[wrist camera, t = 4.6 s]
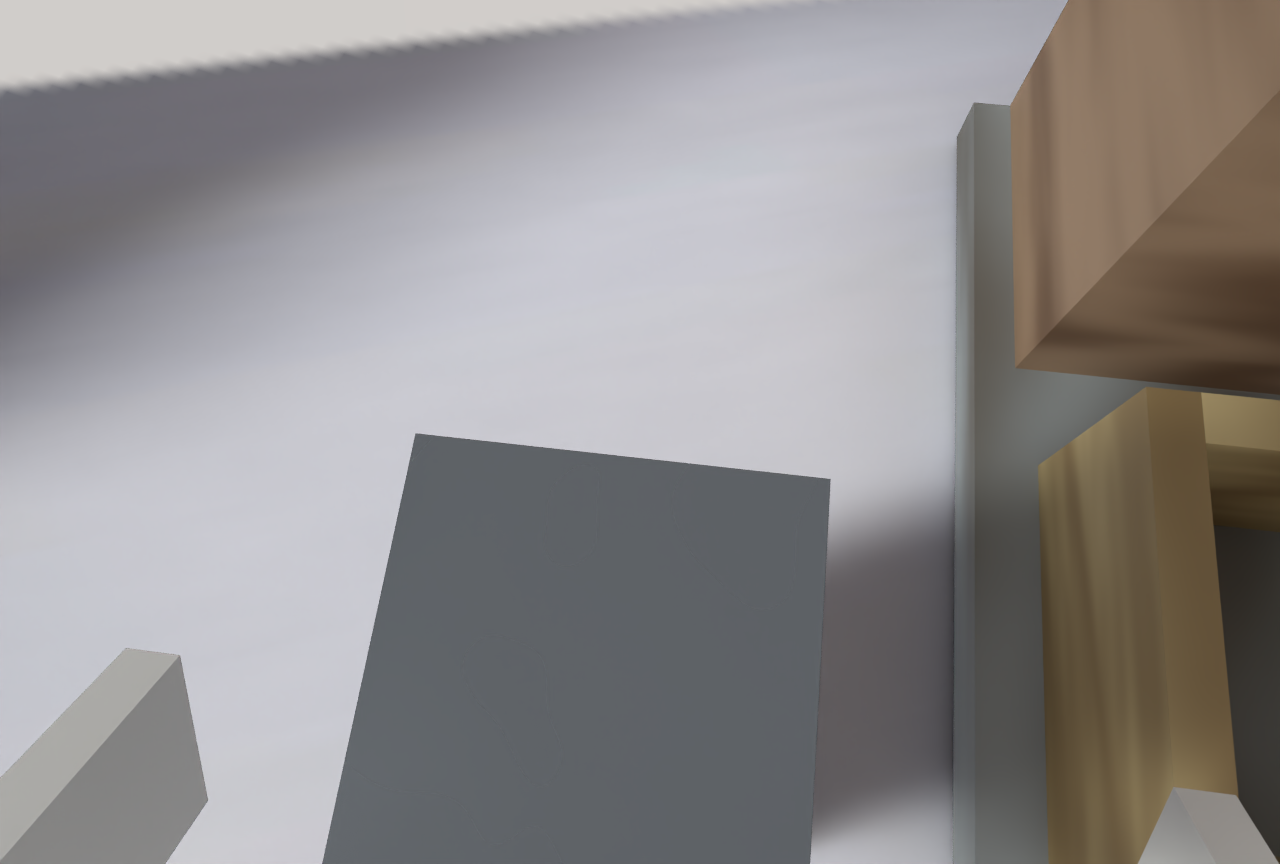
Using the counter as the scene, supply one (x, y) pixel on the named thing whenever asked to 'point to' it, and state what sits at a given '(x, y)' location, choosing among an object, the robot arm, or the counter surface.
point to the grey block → (589, 664)
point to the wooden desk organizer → (1119, 434)
